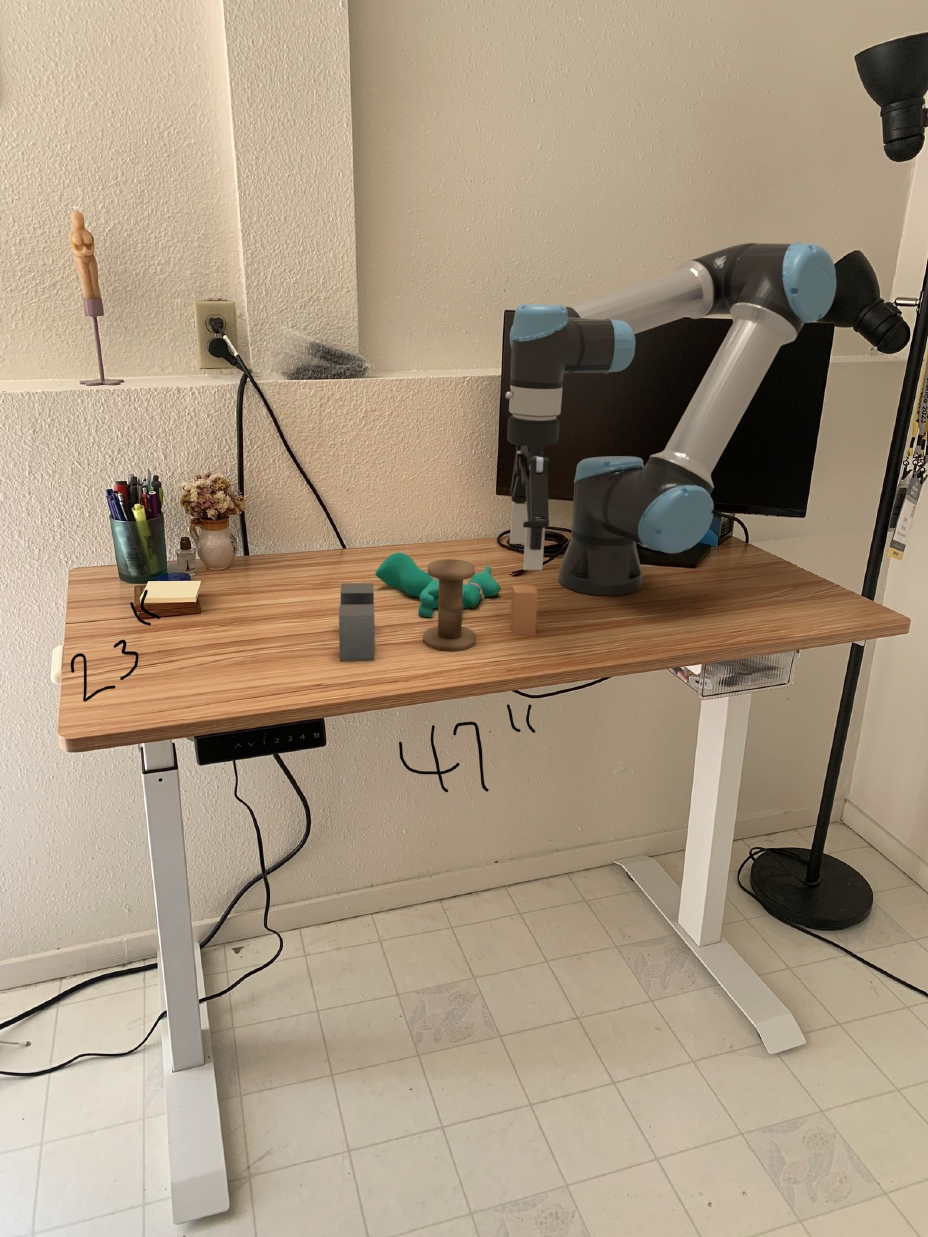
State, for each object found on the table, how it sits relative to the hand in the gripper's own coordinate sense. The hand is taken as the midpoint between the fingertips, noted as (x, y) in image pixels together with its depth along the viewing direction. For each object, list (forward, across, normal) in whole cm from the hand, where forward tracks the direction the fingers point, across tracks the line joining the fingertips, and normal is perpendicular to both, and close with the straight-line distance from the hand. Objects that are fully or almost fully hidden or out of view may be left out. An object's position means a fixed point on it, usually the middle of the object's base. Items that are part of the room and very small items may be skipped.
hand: (525, 555), depth 142 cm
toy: (+13, -16, -12) cm, 24 cm away
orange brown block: (+12, 0, 0) cm, 12 cm away
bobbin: (+12, +4, -12) cm, 17 cm away
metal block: (+13, +4, -26) cm, 29 cm away
